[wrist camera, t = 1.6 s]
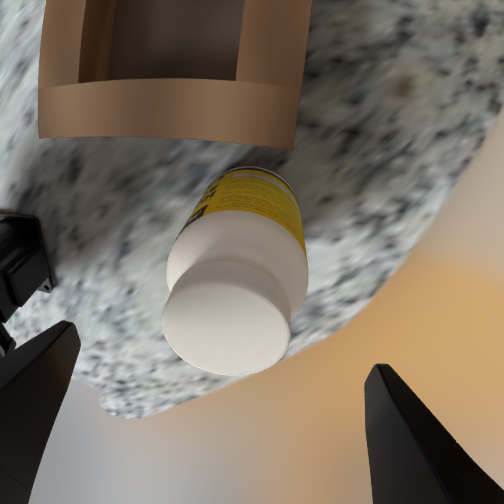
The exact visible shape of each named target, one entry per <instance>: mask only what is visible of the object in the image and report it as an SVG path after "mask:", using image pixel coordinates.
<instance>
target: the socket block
mask: <svg viewBox="0 0 504 504" xmlns="http://www.w3.org/2000/svg"><path fill="white" fill-rule="evenodd" d="M311 7H312V0H46V6H45V13H44V20H43V27H42V36H41V46H40V59H39V77H38V129H39V139H42V138H61V137H106V136H111V137H158V138H178V139H194V140H207V141H219V142H230V143H240V144H249V145H258V146H266V147H274V148H282V149H289V150H293V144H294V137H295V130H296V123H297V116H298V109H299V102H300V94H301V87H302V79H303V72H304V64H305V56H306V48H307V40H308V32H309V24H310V16H311Z"/></svg>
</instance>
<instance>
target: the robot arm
mask: <svg viewBox="0 0 504 504" xmlns="http://www.w3.org/2000/svg"><path fill="white" fill-rule="evenodd" d="M32 222H33V223H32ZM53 289H54V285H53V281H52V277H51V274H50V270H49V266H48V262H47V257H46V253H45V248H44V244H43V239H42V234H41V229H40V224H39V220H38V219H37V218H36V217H35V216H31V215H21V214H11V213H2V212H0V504H28V502H29V498H30V495H31V491H32V487H33V484H34V481H35V477H36V474H37V471H38V468H39V465H40V462H41V459H42V456H43V453H44V450H45V447H46V444H47V441H48V438H49V436H50V433H51V430H52V427H53V425H54V422H55V419H56V417H57V414H58V412H59V409H60V406H61V404H62V401H63V399H64V396H65V394H66V392H67V389H68V386H69V383H70V380H71V376H72V373H73V370H74V367H75V363H76V360H77V357H78V354H79V351H80V347H81V341H80V338H79V335H78V332H77V329H76V326H75V324H74V323H72V322H69V321H65V320H62V321H60V322H58V323H57V324H55V325H53V326H52V327H50V328H49V329H47V330H45V331H44V332H42V333H40V334H39V335H37V336H36V337H34V338H32V339H31V340H29V341H28V342H26V343H24V344H23V345H21V346H20V347H18V348H16V349H15V347H16V342H15V340H14V339H13V337H11V336H10V335H9V333H8V332H7V330H6V328H5V327H4V325H3V324H2V322H3V323H6V322H7V321H8V320H9V318H10V317H11V316H12V315H13V313H14V312H15V311H16V310H17V309H18V308H19V307H22V306H23V305H24V304H25V303H26V302H27V301H28V299H29V298H30V297H31V296H32V295H33V294H34V292H35V291H36V290H39V291H43V292H47V293H51V292H52V290H53ZM14 349H15V350H14ZM364 391H365V430H366V439H367V447H368V456H369V465H370V475H371V486H372V498H373V504H504V490H503V489H502V488H501V487H500V486H499V485H498V484H497V483H496V482H495V481H494V480H493V479H492V478H490V477H489V476H488V475H487V474H486V473H485V472H484V471H483V470H482V469H481V468H480V467H479V466H478V465H477V464H476V463H475V462H474V461H473V460H472V458H471V457H470V456H469V455H468V454H467V453H466V452H465V451H464V450H463V448H462V447H461V446H460V445H459V444H458V443H456V440H455V439H454V438H453V437H452V436H451V434H450V433H449V432H448V431H447V430H446V429H445V428H444V426H443V425H442V424H441V423H440V422H439V421H438V419H437V418H436V417H435V416H434V415H433V414H432V413H431V411H430V410H429V409H428V408H427V407H426V406H425V405H424V403H423V402H422V401H421V400H420V399H419V398H418V397H417V395H416V394H415V393H414V392H413V391H412V390H411V389H410V388H409V386H408V385H407V384H406V383H405V382H404V381H403V380H402V379H401V378H400V376H399V375H398V374H397V373H396V372H395V371H394V370H393V368H392V367H391V366H390V365H388V364H375V365H374V367H373V368H372V370H371V372H370V373H369V375H368V377H367V379H366V381H365V385H364Z"/></svg>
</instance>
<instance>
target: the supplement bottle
mask: <svg viewBox="0 0 504 504" xmlns="http://www.w3.org/2000/svg"><path fill="white" fill-rule="evenodd" d="M166 275H167V283H168V288H169V291H170V296H169V298H168V301H167V303H166V305H165V307H164V310H163V314H162V328H163V332H164V335H165V337H166V339H167V341H168V343H169V345H170V346H171V347H172V349H173V350H174V351H175V352H176V353H177V354H178V355H179V356H180V357H181V358H182V359H184V360H185V361H187V362H188V363H190V364H192V365H193V366H195V367H197V368H200V369H202V370H205V371H207V372H211V373H215V374H220V375H230V376H241V375H248V374H253V373H257V372H260V371H262V370H265V369H267V368H269V367H270V366H272V365H273V364H275V363H276V362H277V361H278V360H279V359H280V358H281V357H282V356H283V355H284V353H285V352H286V350H287V348H288V346H289V343H290V339H291V319H292V318H293V317H294V315H295V314H296V313H297V312H298V310H299V309H300V307H301V305H302V303H303V301H304V299H305V296H306V293H307V288H308V263H307V256H306V249H305V242H304V234H303V227H302V220H301V214H300V208H299V204H298V201H297V197H296V195H295V193H294V191H293V189H292V188H291V187H290V185H289V184H288V183H287V182H286V181H285V180H284V179H283V178H282V177H281V176H279V175H278V174H276V173H274V172H272V171H270V170H268V169H265V168H261V167H254V166H244V167H238V168H234V169H231V170H229V171H226V172H225V173H223V174H221V175H220V176H219V177H217V178H216V179H215V180H214V181H213V182H212V183H211V185H210V186H209V187H208V188H207V190H206V191H205V193H204V195H203V196H202V198H201V200H200V201H199V203H198V205H197V206H196V208H195V209H194V211H193V213H192V214H191V216H190V217H189V219H188V221H187V222H186V224H185V226H184V227H183V229H182V231H181V232H180V233H179V235H178V237H177V238H176V240H175V242H174V244H173V247H172V249H171V251H170V254H169V257H168V261H167V268H166Z"/></svg>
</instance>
